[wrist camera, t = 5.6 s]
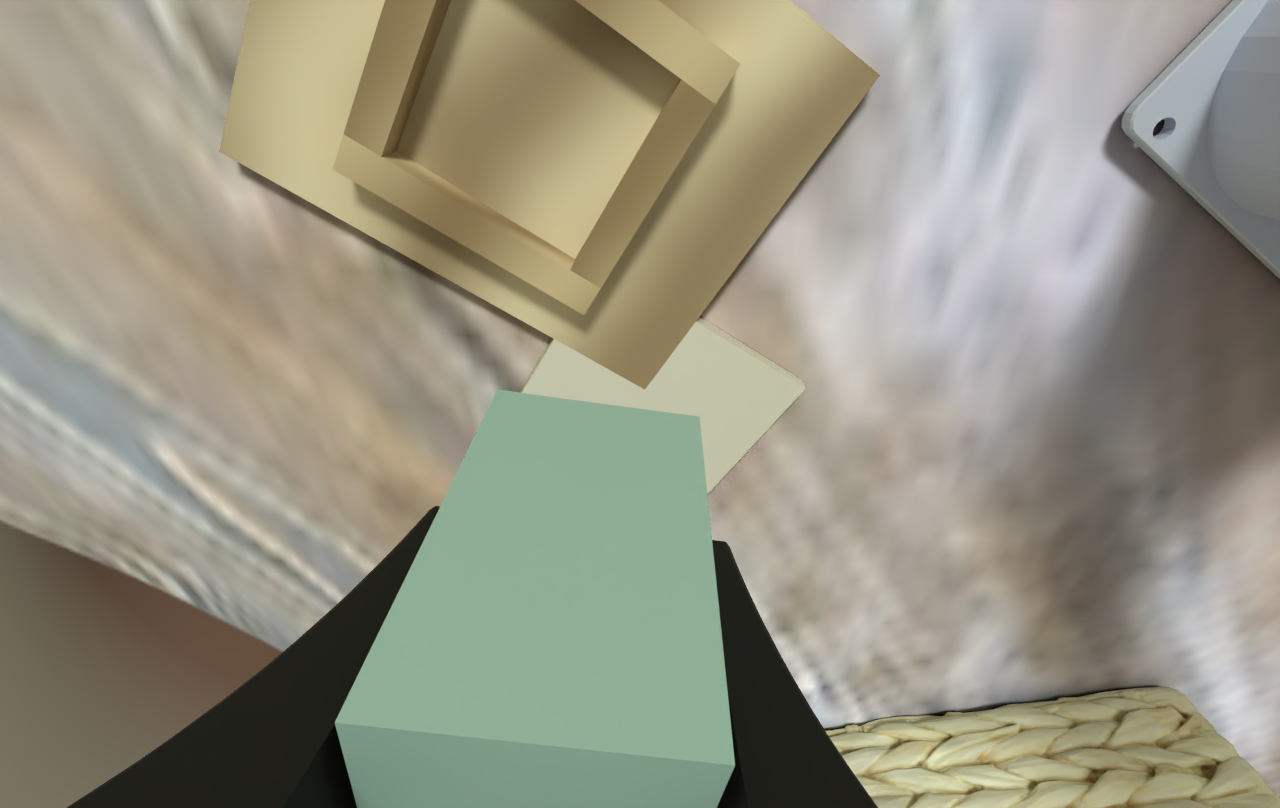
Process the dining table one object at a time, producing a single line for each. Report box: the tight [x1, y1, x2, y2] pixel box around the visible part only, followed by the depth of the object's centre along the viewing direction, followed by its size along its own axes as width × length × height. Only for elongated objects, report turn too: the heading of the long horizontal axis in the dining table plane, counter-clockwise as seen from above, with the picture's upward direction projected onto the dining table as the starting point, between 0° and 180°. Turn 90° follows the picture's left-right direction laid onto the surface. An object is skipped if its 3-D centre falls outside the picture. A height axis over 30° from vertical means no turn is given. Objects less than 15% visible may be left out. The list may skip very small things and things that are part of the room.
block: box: [335, 390, 735, 808], centre depth 9 cm, size 4×4×6 cm
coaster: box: [520, 317, 805, 494], centre depth 20 cm, size 8×8×1 cm
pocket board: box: [219, 0, 880, 389], centre depth 15 cm, size 14×11×2 cm
